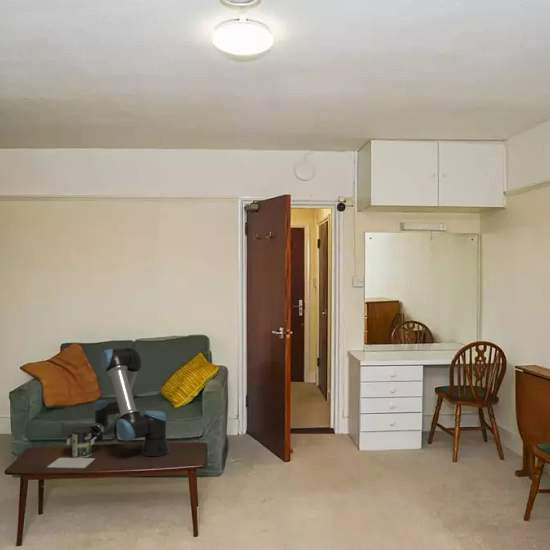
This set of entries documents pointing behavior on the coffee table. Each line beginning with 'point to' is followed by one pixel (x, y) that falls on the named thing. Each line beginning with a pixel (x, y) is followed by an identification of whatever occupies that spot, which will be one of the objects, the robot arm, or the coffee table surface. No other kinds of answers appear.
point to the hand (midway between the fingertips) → (79, 442)
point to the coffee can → (81, 442)
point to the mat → (71, 463)
